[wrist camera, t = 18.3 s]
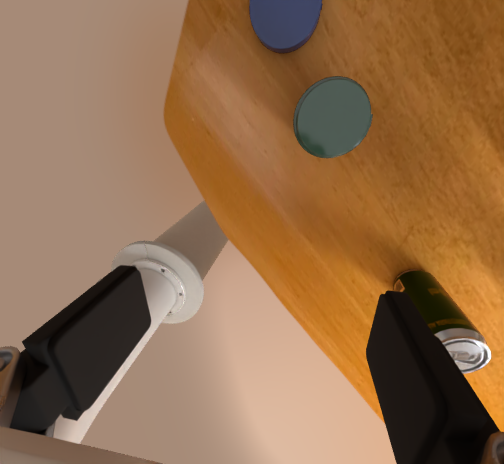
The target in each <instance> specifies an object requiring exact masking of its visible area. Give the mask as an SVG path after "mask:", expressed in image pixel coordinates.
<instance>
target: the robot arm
mask: <svg viewBox="0 0 504 464" xmlns="http://www.w3.org/2000/svg"><path fill="white" fill-rule="evenodd" d="M186 297H187V293H186V288H185V284H184V283H183V281H182V279H181V277H180V276H179V275H178V274H177V273H176V272H175V271H174V270H173V269H172V268H171V267H169V266H168V265H166V264H164V263H163V262H160V261H158V260H154V259H147V258H143V259H138V260H136V261H133V262H132V263H131V264H129V265H128V266H127V265H120V266H118V267H117V268H115V269H114V270H113V271H112V272H110V273H109V274H108V275H106V276H105V277H104V278H103V279H100V280H99V281H98V282H97V283H96V284H95V285H94V286H92V287H91V288H90V289H89V290H87V291H86V292H85V293H83V294H82V295H81V296H80V297H78V298H77V299H76V300H75V301H73V302H72V303H71V304H70V305H68V306H67V307H66V308H64V309H63V310H62V311H61V312H59V313H58V314H57V315H55V316H54V317H53V318H52V319H50V320H49V321H48V322H46V323H45V324H44V325H43V326H41V327H40V328H39V329H38V330H36V331H35V332H34V333H32V334H31V335H30V336H29V337H27V338H26V339H25V340H23V341H22V343H23V345H24V346H25V348H26V349H25V350H23V351H22V352H21V353H20V352H19V350H18V349H17V348H15V347H11V346H10V347H1V348H0V464H162V463H158V462H154V461H150V460H146V459H141V458H137V457H132V456H129V455H125V454H121V453H116V452H112V451H108V450H103V449H99V448H95V447H91V446H86V445H82V444H80V443H81V441H82V439H83V437H84V435H85V434H86V432H87V430H88V429H89V427H90V425H91V424H92V422H93V420H94V419H95V417H96V415H97V414H98V412H99V411H100V409H101V408H102V406H103V405H104V403H105V402H106V400H107V399H108V397H109V396H110V395H111V393H112V392H113V390H114V389H115V387H116V386H117V384H118V383H119V382H120V380H121V379H122V377H123V376H124V374H125V373H126V372H127V370H128V369H129V367H130V366H131V364H132V363H133V362H134V360H135V359H136V357H137V356H138V354H139V353H140V352H141V350H142V349H143V348H144V346H145V345H146V343H147V342H148V340H149V339H150V338H151V336H152V335H153V333H154V332H155V331H156V329H157V328H158V326H159V325H160V323H161V322H162V321H163V319H164V318H165V316H169V315H173V314H175V313H177V312H178V311H179V310H180V309H181V308H182V307H183V305H184V303H185V301H186ZM366 357H367V361H368V365H369V368H370V372H371V375H372V379H373V382H374V386H375V389H376V393H377V396H378V400H379V403H380V407H381V410H382V414H383V417H384V421H385V424H386V428H387V431H388V435H389V438H390V442H391V445H392V449H393V452H394V456H395V460H396V463H397V464H504V432H500V430H499V429H498V427H497V426H496V424H495V423H494V421H493V420H492V418H491V417H490V415H489V413H488V412H487V410H486V409H485V407H484V406H483V404H482V403H481V401H480V400H479V398H478V397H477V395H476V394H475V392H474V390H473V389H472V387H471V386H470V384H469V383H468V381H467V380H466V378H465V377H464V375H463V374H462V372H461V370H460V369H459V367H458V366H457V364H456V363H455V361H454V360H453V358H452V357H451V355H450V354H449V352H448V351H447V349H446V347H445V346H444V344H443V343H442V341H441V340H440V339H439V338H438V337H437V336H435V335H434V334H433V333H432V331H431V330H430V328H429V327H428V325H427V323H426V322H425V320H424V319H423V317H422V316H421V314H420V312H419V311H418V309H417V308H416V306H415V305H414V303H413V301H412V300H411V298H410V297H409V295H408V294H407V293H406V292H399V291H386V293H385V294H381V295H380V297H379V301H378V305H377V309H376V313H375V316H374V320H373V324H372V328H371V332H370V336H369V340H368V344H367V348H366Z"/></svg>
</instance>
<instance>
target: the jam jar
mask: <svg viewBox="0 0 504 464" xmlns="http://www.w3.org/2000/svg"><path fill="white" fill-rule="evenodd" d="M372 116H373V114H371V105H370V101H369V98H368V95H367V93H366V92H365V90H364V89H363V88H362V86H361V85H360V84H358V83H357V82H356V81H354V80H352V79H350V78H347V77H342V76H333V77H328V78H324V79H322V80H320V81H318V82H316V83H315V84H313V85H312V86H311V87H309V88H308V89H307V90H306V91H305V93H304V94H303V95H302V97H301V98H300V100H299V102H298V104H297V106H296V109H295V113H294V119H293V126H294V132H295V136H296V138H297V140H298V142H299V144H300V145H301V146H302V148H303V149H304V150H306V151H307V152H308V153H310V154H312V155H314V156H316V157H320V158H334V157H338V156H342V155H344V154H346V153H348V152H350V151H351V150H353V149H354V148H355V147H356V146H357V145H359V144H360V143H361V141H362V140H363V139H364V137H365V136H366V134H367V132H368V130H369V128H370V126H371V121H372Z"/></svg>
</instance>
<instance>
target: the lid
mask: <svg viewBox="0 0 504 464" xmlns="http://www.w3.org/2000/svg"><path fill="white" fill-rule="evenodd" d="M249 8H250V19H251V23H252V26H253V28H254V30H255V32H256V34H257V36H258V38H259V39H260V41H261V42H262V43H263V44H264V46H266V47H267V48H268V49H270V50H272V51H274V52H278V53H288V52H292V51H294V50H296V49H298V48H300V47H301V46H302V45H304V44H305V43H306V42H307V41H308V39H309V38H310V37H311V35H312V34H313V32H314V30H315V28H316V26H317V23H318V20H319V16H320V10H321V9H322V0H250V7H249Z"/></svg>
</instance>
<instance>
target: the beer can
mask: <svg viewBox="0 0 504 464" xmlns="http://www.w3.org/2000/svg"><path fill="white" fill-rule="evenodd" d="M393 290H394V291H399V292H406V293H407V294H408V295H409V297H410V298H411V300H412V301H413V303H414V305H415V306H416V308H417V309H418V311H419V312H420V314H421V316H422V317H423V319H424V320H425V322H426V323H427V325H428V327H429V328H430V330H431V331H432V333H433V334H434V335H435V336H437V337H438V338H439V339H440V340H441V341H442V343H443V344H444V346H445V347H446V349H447V351H448V352H449V354H450V355H451V357H452V358H453V360H454V361H455V363H456V364H457V366H458V367H459V369H460V370H461V372H462V374H465V373H470V372H474V371H477V370H479V369H481V368H483V367H484V366H485V365H487V363H488V362H489V360H490V359H491V352H490V349H489V347H488V346H487V343H486V341H485V338H484V337H483V336H482V335H481V333H480V332H479V331H478V330H477V329H476V327H475V326H474V325H473V324H472V322H471V321H470V320H469V319H468V318H467V316H466V315H465V314H464V313H463V312H462V310H461V309H460V308H459V307H458V305H457V304H456V303H455V302H454V301H453V299H452V298H451V297H450V296H449V294H448V293H447V292H446V291H445V290H444V288H443V287H442V286H441V285H440V284H439V282H438V281H437V280H436V279H435V277H433V276H432V275H431V274H430V273H428V272H425V271H422V270H418V269H412V270H407V271H404V272H402V273H401V274H399V275H398V276H397V277H396V279H395V281H394V285H393Z"/></svg>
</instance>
